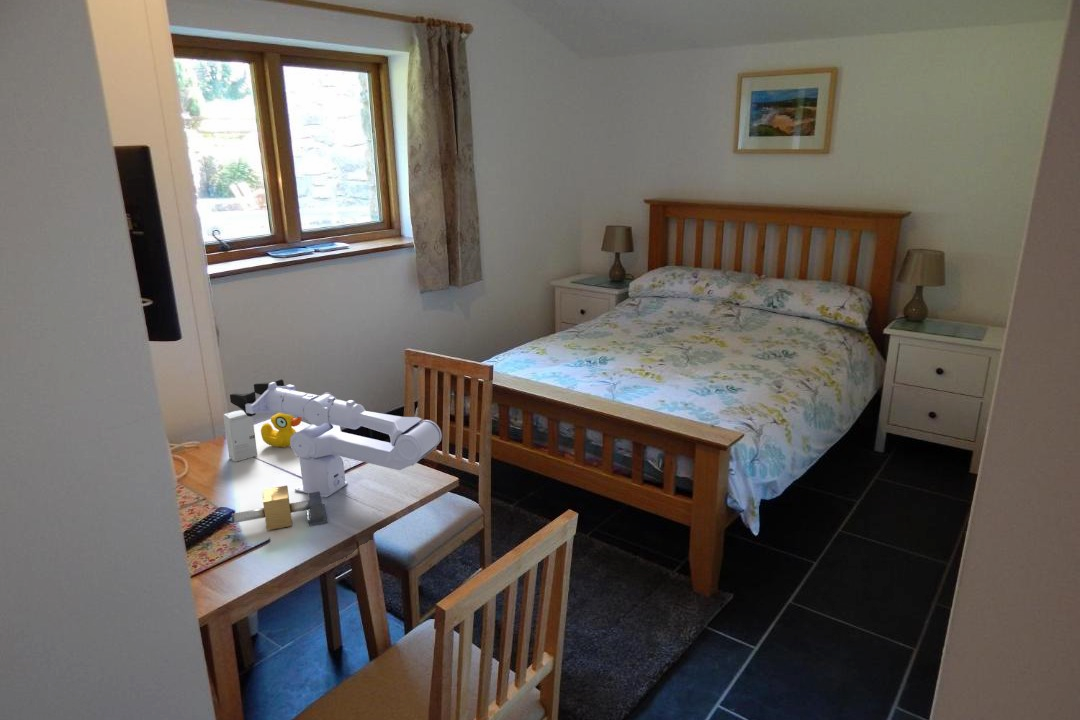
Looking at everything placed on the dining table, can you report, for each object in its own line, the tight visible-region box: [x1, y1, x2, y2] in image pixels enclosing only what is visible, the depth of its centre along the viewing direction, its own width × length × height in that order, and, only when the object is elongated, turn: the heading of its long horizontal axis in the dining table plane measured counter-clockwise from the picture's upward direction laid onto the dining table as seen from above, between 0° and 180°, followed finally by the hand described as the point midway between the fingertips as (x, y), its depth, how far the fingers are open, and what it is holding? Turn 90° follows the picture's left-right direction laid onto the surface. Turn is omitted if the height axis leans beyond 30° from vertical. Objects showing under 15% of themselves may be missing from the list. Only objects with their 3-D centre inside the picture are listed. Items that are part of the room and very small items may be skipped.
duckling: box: [260, 412, 303, 449], centre depth 190 cm, size 11×5×10 cm, turn 85°
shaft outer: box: [231, 507, 265, 524], centre depth 150 cm, size 9×2×2 cm, turn 111°
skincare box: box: [222, 409, 258, 463], centre depth 184 cm, size 6×4×12 cm
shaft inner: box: [290, 498, 323, 514], centre depth 153 cm, size 9×2×2 cm, turn 111°
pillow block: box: [306, 491, 329, 527], centre depth 155 cm, size 4×8×4 cm, turn 21°
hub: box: [262, 485, 293, 531], centre depth 152 cm, size 5×6×7 cm
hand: (243, 393), depth 169 cm, fingers open, 7 cm apart
